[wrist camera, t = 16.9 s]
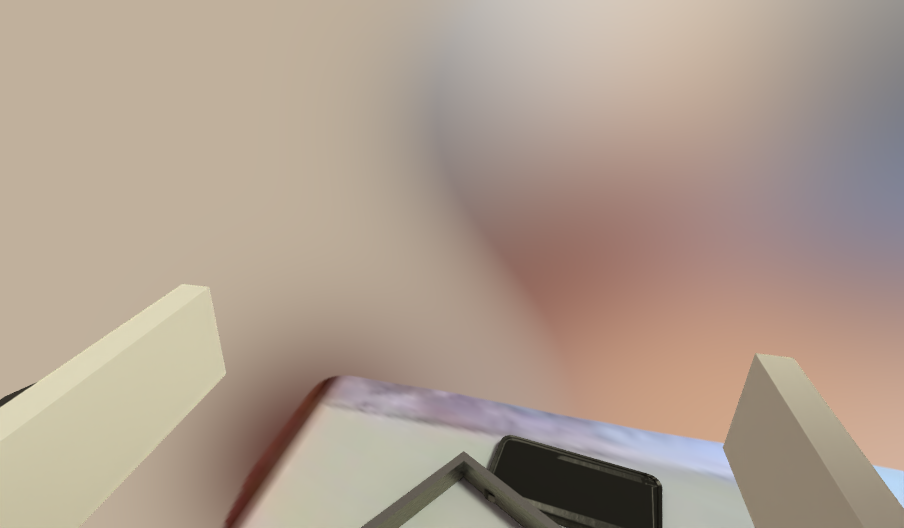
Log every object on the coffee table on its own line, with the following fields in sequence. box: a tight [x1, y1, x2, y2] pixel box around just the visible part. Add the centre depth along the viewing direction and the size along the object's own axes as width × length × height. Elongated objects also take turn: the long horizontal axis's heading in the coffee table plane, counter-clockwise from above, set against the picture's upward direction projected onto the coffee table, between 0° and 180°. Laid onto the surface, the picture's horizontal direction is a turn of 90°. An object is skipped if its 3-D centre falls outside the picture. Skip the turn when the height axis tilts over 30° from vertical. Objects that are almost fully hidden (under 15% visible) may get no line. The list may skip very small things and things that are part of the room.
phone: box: [484, 435, 662, 528], centre depth 45 cm, size 8×1×15 cm
